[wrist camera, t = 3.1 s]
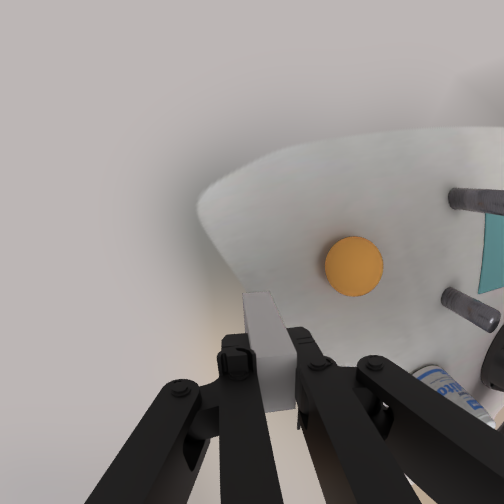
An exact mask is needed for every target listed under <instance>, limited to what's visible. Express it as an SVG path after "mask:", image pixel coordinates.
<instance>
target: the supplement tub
mask: <svg viewBox="0 0 504 504" xmlns="http://www.w3.org/2000/svg"><path fill="white" fill-rule="evenodd" d="M413 376H414V377H416V378H417V379H419V380H420V381H422V382H423V383H425V384H426V385H428V386H429V387H431V388H432V389H434V390H435V391H437V392H438V393H440V394H441V395H443V396H444V397H446V398H447V399H449V400H450V401H452V402H454V403H455V404H457V405H458V406H460V407H461V408H463V409H464V410H466V411H467V412H469V413H470V414H472V415H474V416H475V417H477V418H478V419H480V420H481V421H483V422H484V423H486V424H487V425H489V426H491V427H492V428H494V429H495V426H496V423H495V421H494V420H493V419H492V418H491V416H490V415H489V413H488V412H487V411H486V410H485V409H484V408H483V407H482V406H481V405H480V404H479V403H478V402H477V401H476V400H475V399H474V398H473V397H472V396H471V395H470V394H469V393H468V392H467V391H466V390H465V389H464V388H462V387H461V386H460V385H459V384H458V383H457V382H456V381H455V380H454V379H453V378H452V377H451V376H450V375H448V373H446V372H445V371H444V370H443V369H442V368H440V367H438V366H427V367H424V368H422V369H420V370H418V371H417V372H415V373H414V374H413Z"/></svg>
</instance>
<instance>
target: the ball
mask: <svg viewBox="0 0 504 504" xmlns="http://www.w3.org/2000/svg"><path fill="white" fill-rule="evenodd" d="M325 272H326V276H327V279H328V281H329V283H330V284H331V286H332V287H333V288H334V289H335V290H336V291H338V292H339V293H341V294H343V295H346V296H353V297H355V296H361V295H364V294H367V293H369V292H370V291H371V290H373V289H374V288H375V287H376V285H377V284H378V283H379V281H380V279H381V276H382V273H383V260H382V256H381V254H380V252H379V250H378V248H377V247H376V246H375V245H374V244H373V243H372V242H370V241H369V240H367V239H365V238H362V237H355V236H353V237H347V238H344V239H342V240H340V241H338V242H337V243H336V244H334V246H333V247H332V248H331V249H330V251H329V252H328V255H327V257H326V261H325Z"/></svg>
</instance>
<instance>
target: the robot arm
mask: <svg viewBox="0 0 504 504" xmlns="http://www.w3.org/2000/svg"><path fill="white" fill-rule="evenodd" d="M243 308H244V322H245V333H243V334H230V335H226V336H225V337H224V338H223V339H222V346H221V347H222V348H221V351H220V352H219V353H218V355H217V363H218V370H219V378H218V379H217V380H215V381H214V382H212V383H210V384H207V385H203V386H200V387H199V386H198V384H197V383H195V382H194V381H191V380H188V379H178V380H173V381H171V382H169V383H167V384H166V385H165V386H164V387H163V388H162V389H161V391H160V392H159V394H158V395H157V397H156V398H155V400H154V401H153V403H152V404H151V406H150V407H149V408H148V410H147V411H146V413H145V414H144V416H143V417H142V419H141V420H140V422H139V423H138V425H137V426H136V428H135V429H134V431H133V432H132V434H131V435H130V437H129V438H128V440H127V441H126V443H125V444H124V446H123V447H122V449H121V450H120V451H119V453H118V454H117V456H116V458H115V459H114V460H113V462H112V463H111V465H110V466H109V468H108V469H107V471H106V472H105V474H104V475H103V477H102V478H101V480H100V481H99V483H98V484H97V486H96V487H95V489H94V490H93V492H92V493H91V494H90V496H89V497H88V499H87V500H86V502H85V503H84V504H187V501H188V499H189V496H190V493H191V491H192V488H193V486H194V483H195V480H196V478H197V475H198V473H199V470H200V467H201V465H202V462H203V460H204V457H205V454H206V452H207V449H208V446H209V444H210V439H211V438H213V437H216V436H219V450H220V494H221V504H284V503H283V498H282V494H281V489H280V485H279V480H278V475H277V470H276V465H275V461H274V456H273V451H272V446H271V441H270V436H269V431H268V426H267V421H266V416H265V413H267V412H275V411H283V410H289V409H295V405H296V402H297V405H298V422H297V429H298V430H299V429H300V425H301V428H302V431H303V434H304V437H305V440H306V443H307V446H308V449H309V452H310V456H311V459H312V461H313V464H314V467H315V470H316V473H317V477H318V480H319V483H320V486H321V489H322V492H323V495H324V497H325V501H326V504H422V503H421V502H420V500H419V498H418V496H417V495H416V493H415V491H414V490H413V488H412V486H411V485H410V483H409V481H408V480H407V478H406V476H408V477H409V478H410V479H411V480H412V481H413V482H414V483H415V484H416V485H417V486H418V487H420V488H421V489H422V490H423V491H424V492H425V493H426V494H427V495H428V496H429V497H431V498H432V499H433V500H434V501H435V502H436V503H437V504H504V422H503V423H502V425H501V426H500V427H499V428H498V429H497V430H495V429H494V428H492V427H491V426H489V425H487V424H486V423H484V422H483V421H481V420H480V419H478V418H477V417H475V416H474V415H472V414H470V413H469V412H467V411H466V410H464V409H463V408H461V407H460V406H458V405H457V404H455V403H454V402H452V401H450V400H449V399H447V398H446V397H444V396H443V395H441V394H440V393H438V392H437V391H435V390H434V389H432V388H431V387H429V386H428V385H426V384H425V383H423V382H422V381H420V380H419V379H417V378H416V377H414V376H413V375H411V374H410V373H408V372H407V371H405V370H404V369H402V368H401V367H399V366H398V365H396V364H395V363H393V362H392V361H390V360H389V359H387V358H385V357H383V356H378V355H369V356H365V357H363V358H361V359H360V360H359V361H358V363H357V367H340V366H337V364H336V362H335V361H334V360H333V359H331V358H329V357H327V356H324V355H323V354H322V352H321V350H320V349H319V347H318V345H317V344H316V342H315V340H314V339H313V338H312V335H311V333H310V332H309V331H308V330H307V329H305V328H303V327H294V328H286V327H285V325H284V323H283V320H282V318H281V316H280V314H279V311H278V309H277V307H276V305H275V302H274V300H273V298H272V296H271V293H270V291H264V292H252V293H243ZM481 379H482V382H483V383H484V384H485V385H486V386H488V387H489V388H491V389H494V390H498V391H501V392H504V326H503V327H502V328H501V330H500V331H499V333H498V334H497V336H496V338H495V339H494V341H493V343H492V345H491V347H490V349H489V351H488V353H487V356H486V358H485V361H484V364H483V367H482V372H481ZM383 402H384V403H385V404H386V405H388V406H389V407H388V408H387V407H385V406H384V405H383ZM404 474H405V475H406V476H405V475H404Z"/></svg>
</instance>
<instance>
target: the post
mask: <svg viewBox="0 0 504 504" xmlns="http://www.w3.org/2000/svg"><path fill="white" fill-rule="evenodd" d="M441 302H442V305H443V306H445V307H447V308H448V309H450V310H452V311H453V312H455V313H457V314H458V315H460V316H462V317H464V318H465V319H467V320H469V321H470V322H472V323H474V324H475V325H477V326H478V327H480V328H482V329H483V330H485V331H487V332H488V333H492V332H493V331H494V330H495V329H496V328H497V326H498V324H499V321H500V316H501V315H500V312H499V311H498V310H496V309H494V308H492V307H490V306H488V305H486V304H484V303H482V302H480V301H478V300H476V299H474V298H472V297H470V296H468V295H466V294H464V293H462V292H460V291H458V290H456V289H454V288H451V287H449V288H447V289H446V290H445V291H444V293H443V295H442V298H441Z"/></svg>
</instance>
